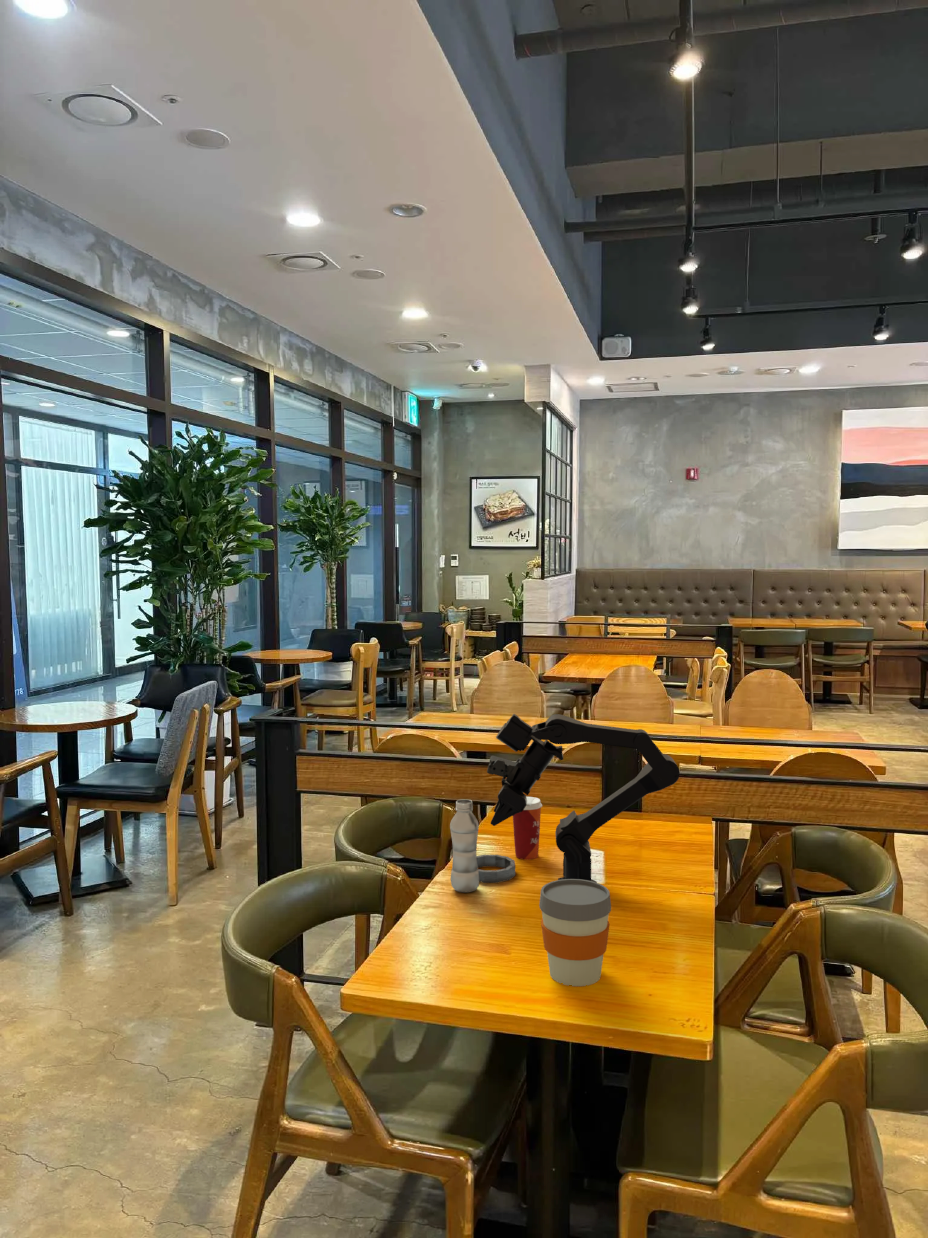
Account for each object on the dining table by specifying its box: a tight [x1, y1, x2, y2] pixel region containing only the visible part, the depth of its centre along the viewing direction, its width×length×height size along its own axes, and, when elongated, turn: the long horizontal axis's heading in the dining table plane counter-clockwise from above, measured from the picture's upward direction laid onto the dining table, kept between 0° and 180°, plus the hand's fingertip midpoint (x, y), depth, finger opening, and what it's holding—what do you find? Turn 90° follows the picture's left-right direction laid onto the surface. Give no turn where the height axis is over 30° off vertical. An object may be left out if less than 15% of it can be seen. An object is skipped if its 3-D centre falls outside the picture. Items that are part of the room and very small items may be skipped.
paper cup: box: [512, 796, 543, 861], centre depth 217 cm, size 8×8×14 cm
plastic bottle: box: [449, 799, 480, 893], centre depth 195 cm, size 6×7×20 cm
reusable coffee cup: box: [538, 879, 612, 987], centre depth 155 cm, size 13×13×15 cm
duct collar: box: [477, 854, 516, 884], centre depth 205 cm, size 12×12×2 cm
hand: (493, 818), depth 200 cm, fingers open, 9 cm apart
